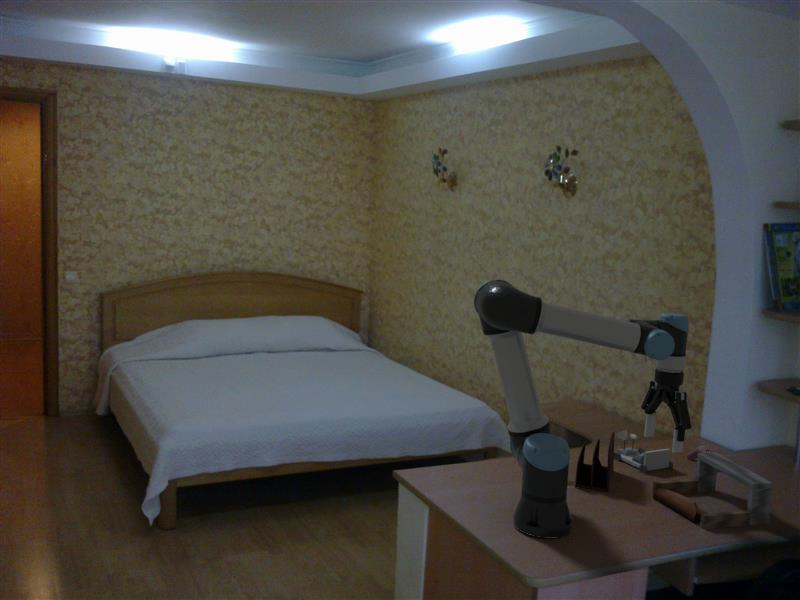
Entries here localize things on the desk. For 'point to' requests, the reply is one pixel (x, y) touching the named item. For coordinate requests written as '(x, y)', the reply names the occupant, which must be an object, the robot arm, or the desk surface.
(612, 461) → the letter holder
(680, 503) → the sunglasses case
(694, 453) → the video game controller
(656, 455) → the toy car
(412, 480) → the desk surface
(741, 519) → the walled lane
